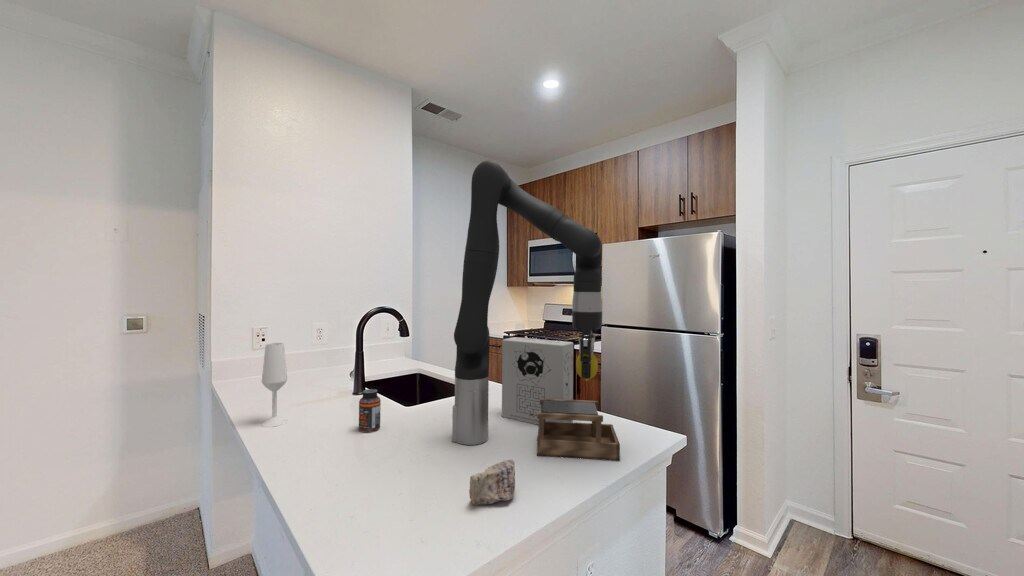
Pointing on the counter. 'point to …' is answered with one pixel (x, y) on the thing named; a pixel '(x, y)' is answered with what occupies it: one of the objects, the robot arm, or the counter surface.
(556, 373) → the cereal box
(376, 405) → the supplement bottle
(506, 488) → the mineral specimen
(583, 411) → the trapdoor
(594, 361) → the lemon
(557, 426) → the stand
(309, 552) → the counter surface
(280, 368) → the champagne flute
